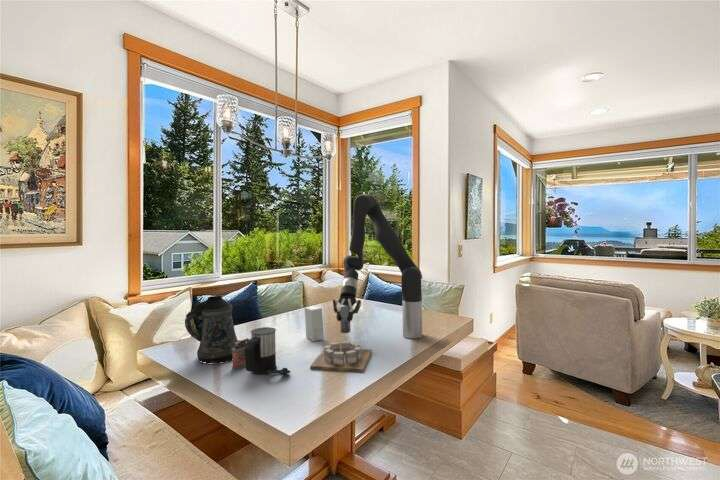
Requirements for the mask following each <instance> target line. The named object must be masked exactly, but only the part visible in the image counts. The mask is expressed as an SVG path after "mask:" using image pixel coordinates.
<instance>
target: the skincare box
mask: <svg viewBox="0 0 720 480" xmlns="http://www.w3.org/2000/svg"><path fill="white" fill-rule="evenodd" d="M323 318H324V317H323V308H322V307H319V306H316V305H312V306H307V307H304V322H305V337H306V338H307V339H309V340H311V341H312V342H316V341H323V340H324V339H325V336H324V320H323Z"/></svg>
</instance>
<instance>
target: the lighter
mask: <svg viewBox="0 0 720 480" xmlns="http://www.w3.org/2000/svg"><path fill="white" fill-rule="evenodd" d="M237 340H238V339H237ZM248 340H249V338H248V337H247V338H243V339H242V340H241V339H239V340H238V342H236V343H235V348H233V349H232V358H233V360H232V367H231V369H232V370H233V371H237V370H240V369H243V368H246V361H245V345H246V343H247V341H248Z"/></svg>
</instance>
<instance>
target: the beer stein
mask: <svg viewBox="0 0 720 480" xmlns="http://www.w3.org/2000/svg"><path fill="white" fill-rule="evenodd" d="M233 308H234V306H233V305H232V304H231V303H230V302H229V301H227V300H225V299H224V298H223V296H221V295H212V296H208V297H207V299H206V300H204V301H200V302H197V303H196V304H195V305H194V309H193V310H190V311H189V312H187V314H185V319H184V326H185V330H186V331H187V332H188V334H189V335H190V336H191V337H192V338H193V339H195V340H196V341H198V342H199V346H198V349H197V352H196V355H197V358H198V359H199V360H200V361H202V362H206V363H220V362H224V363H227V362H226V361H228V362H230V360H231V361H233V360H232V359H233V358H232V349H233V348H235V343H236V342H238V338H237V335H236V331H235V325H234V320H233V315H232V311H233ZM197 317H202V322H201V329H200V330H201V331H200V333H199V332H197V330H195V328H194V327H193V325H192V324H193V323H192V320H193V319H194V318H197ZM199 360H198V361H199ZM220 364H221V363H220Z"/></svg>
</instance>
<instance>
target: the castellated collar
mask: <svg viewBox="0 0 720 480" xmlns="http://www.w3.org/2000/svg"><path fill="white" fill-rule="evenodd" d="M372 350H373V349H362V347H361V345H360V344H359V343H356V342H351V341H341V342H339V341H335V342H331V343H329V344H326V345H325V346H324V348H323V349H322V351H321V353H320V354H319V355H318V356H317V357H316V358H315V359H314V361H313V362H312V363H311V364H310V365H309V370H316V371H317V370H320V371H335V372H350V373H351V372H352V373H364V371H365V369H366V367H367V365H368V362H369V360H370V358H371V355H372V353H373V352H372Z"/></svg>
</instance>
